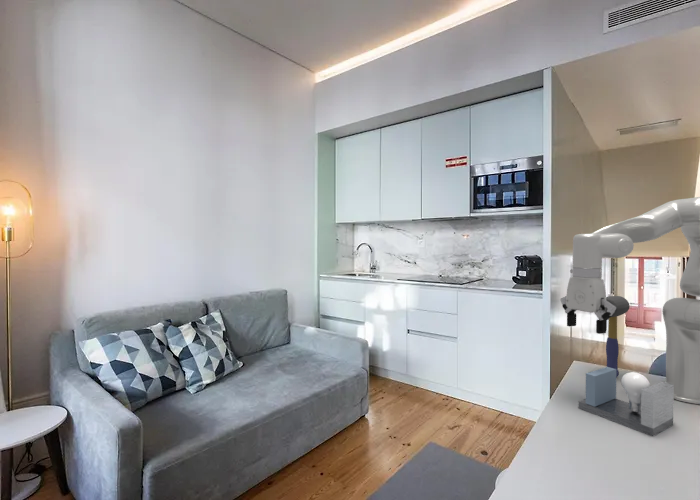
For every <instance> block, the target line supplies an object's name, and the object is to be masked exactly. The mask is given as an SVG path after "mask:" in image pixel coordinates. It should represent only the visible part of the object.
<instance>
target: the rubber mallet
mask: <svg viewBox="0 0 700 500" xmlns="http://www.w3.org/2000/svg"><path fill="white" fill-rule="evenodd" d="M606 300H607V301H608V302H610V303H611V304H612V305H614V306H615V307H616V310H615V312H614V313H613V316H611V317H610V318H609V320H608V323H607V327H608V332H607V333H608V334H607V338H606V342H605V343H606V344H605V353H606V367H610V368H614V369H616V379H618V377H619V375H620V374H619V373H620V372H619V370H618V367H619V366H618V364H619V363H618V359H619V350H620V349H619V348H620V346H619V341H618V317H619V316H621V315H624V314H626V313H628V312H629V309H630V303H629V301H628V299H627V298H625V297H623V296H620V295H611V296H606ZM607 310H608V309H607V307H606V310H605V312H607Z"/></svg>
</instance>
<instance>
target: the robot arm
mask: <svg viewBox="0 0 700 500" xmlns="http://www.w3.org/2000/svg"><path fill="white" fill-rule="evenodd" d="M679 228H680V230H681V232H682V234H683V236H684V237H685V239H686V240H687V243H688V244H689V250H690V253H689V257H688V259H687V263H686V265H685V268H684V270H683V273H682V275H681V278H680V280H679V281H680V282H679V288H680V290H681V292H682V293H685V294H687V295H688V296H689V295H690V296H693V297H698V298H700V196H698V197H689V198H681V199H674V200H670V201H667V202H665V203H663V204H661V205H659V206H656V207H654V208H653V209H650V210H649V211H647V212H644V213H643V214H640V215H638V216H635V217H631V218H628V219H626V220H623V221H622V220H621V221H619V222H617V223H613V224H610V225H607V226H604V227H602V228H599V229H598V230H597V229H596V230H595V231H593V232H591V233H579V234H578V233H577V234H575V235H574V236H573V239H572V269H570V270H569V272H570V273H571V274H572V276H571V277H569V279H568V283H567V287H566V296H562V297H561V298H560V299H559V300H560V303H561V305H562V308H563V310H564V313H565V314H566V326H567V327H576V326H577V313H576V311H579V312H584V313H585V312H586V313H589V314H590V313H593V314H595V316H596V317H597V319H596V324H595V325H596V327H595V329H596V330H595V333H596V334H599V335H600V334H602V335H603V334H606V333H607V327H608V321H609V318H610V317H611V316H613V313H614V312H615V310H616V307H615V306H614V305H612V304H611V303H610V302H608V301H607V300H606V297H607V294H606V290H607V289H606V286H605V281H604V279H602V277H603V274H602V273H603V272H602V271H603V269H602V268H603V258H605V259H606V258H608V259H620V258H624V257H627V256H628V255H630V254H631V253H632V252H633V250H634V246H635V245H634V244H638V243H644V242H649V241H653V240H656V239H659V238H661V237H663V236H664V235H667V234H669V233H671V232H672V231H675V230H677V229H679ZM606 307H607V309H608V310H607V312H605V310H606ZM662 317H663V322H664V325H665V336H666V337H665V338H666V341H665V342H666V344H665V345H666V346H665V354H666V355H665V382H666V383H670V384H674V400H677V401H678V402H679V401H680V402H684V403H688V404H695V405H700V299H696V298H689V297H673V298H670V299H668V300H667V301H665V303H664V304H663V306H662Z"/></svg>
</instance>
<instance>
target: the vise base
mask: <svg viewBox="0 0 700 500" xmlns="http://www.w3.org/2000/svg"><path fill="white" fill-rule="evenodd" d="M674 400H675V399H674V384H670V383H666V381H660V382H657V383H655V384H652V385H650V386H649V387H647V388H644V389H642V390H641V412H638V413H635V412H633V411H631V410H630V409H629V407H630V406H629V404H630V403H629V402H627V401H624V400H622V399H621V400H620V399H618V398H615V399H613V400H610V401H608V402H605V403H603V404H600V405H598V406H596V407H594V406H591V405H589V404H586V398H584V399H581V400H578V404H577V405H578V406H577V408H578V409H580V410H582V411H585V412H587V413H590V414H593V415H595V416H597V417H600V418H604V419H606V420H608V421H612V422H614V423H616V424H618V425H621V426H625V427H626V428H630V429H632V430H635V431H637V432H640V433H643V434H645V435H647V436H651V437H654V436H657V435H658V434H660V433H662V432H664V431H665V430H667V429H669V428H671V427H672V426H674Z"/></svg>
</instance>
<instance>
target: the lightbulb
mask: <svg viewBox="0 0 700 500" xmlns="http://www.w3.org/2000/svg"><path fill="white" fill-rule="evenodd" d="M620 383H621V386H622V389H623V390H624V392H625V393H626V396H627V399H628V403H630V404H629V406H630V407H629V409H630V410H631V411H633V412H635V413H638V412H641V390H642V389H644V388H647V387H649V386H651V383H650V381H649V380H648V377H646V376H645V375H643V374H641V373H639V372H637V371H631V372H627V373H625V374H623V376H621V380H620Z"/></svg>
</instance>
